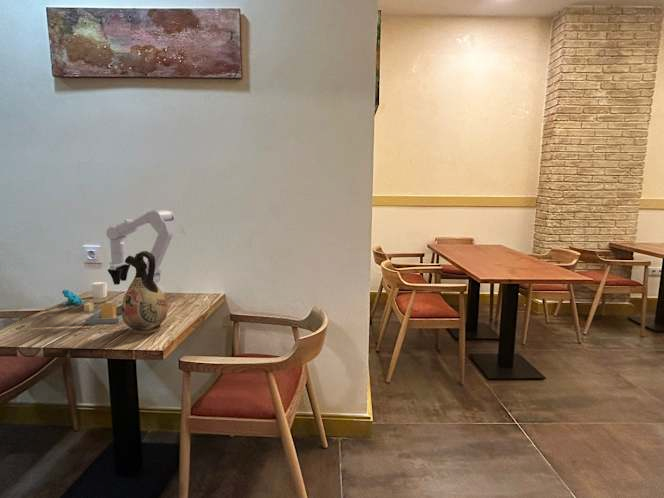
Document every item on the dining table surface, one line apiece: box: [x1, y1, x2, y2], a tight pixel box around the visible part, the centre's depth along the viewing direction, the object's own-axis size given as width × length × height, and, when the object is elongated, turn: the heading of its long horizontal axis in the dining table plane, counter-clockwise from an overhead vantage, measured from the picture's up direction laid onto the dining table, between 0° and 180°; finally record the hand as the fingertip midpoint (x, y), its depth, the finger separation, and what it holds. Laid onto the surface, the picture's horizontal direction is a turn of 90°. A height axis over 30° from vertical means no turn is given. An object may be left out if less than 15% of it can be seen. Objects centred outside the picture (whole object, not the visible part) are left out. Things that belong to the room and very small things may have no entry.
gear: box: [61, 289, 84, 306], centre depth 178 cm, size 11×6×10 cm
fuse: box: [99, 302, 118, 318], centre depth 159 cm, size 4×3×6 cm, turn 96°
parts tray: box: [85, 308, 124, 327], centre depth 159 cm, size 12×12×2 cm
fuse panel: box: [77, 301, 119, 315], centre depth 170 cm, size 12×10×4 cm
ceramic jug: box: [121, 250, 169, 335], centre depth 146 cm, size 17×15×30 cm
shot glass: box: [90, 281, 108, 299], centre depth 193 cm, size 7×7×7 cm
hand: (120, 282), depth 183 cm, fingers open, 7 cm apart
